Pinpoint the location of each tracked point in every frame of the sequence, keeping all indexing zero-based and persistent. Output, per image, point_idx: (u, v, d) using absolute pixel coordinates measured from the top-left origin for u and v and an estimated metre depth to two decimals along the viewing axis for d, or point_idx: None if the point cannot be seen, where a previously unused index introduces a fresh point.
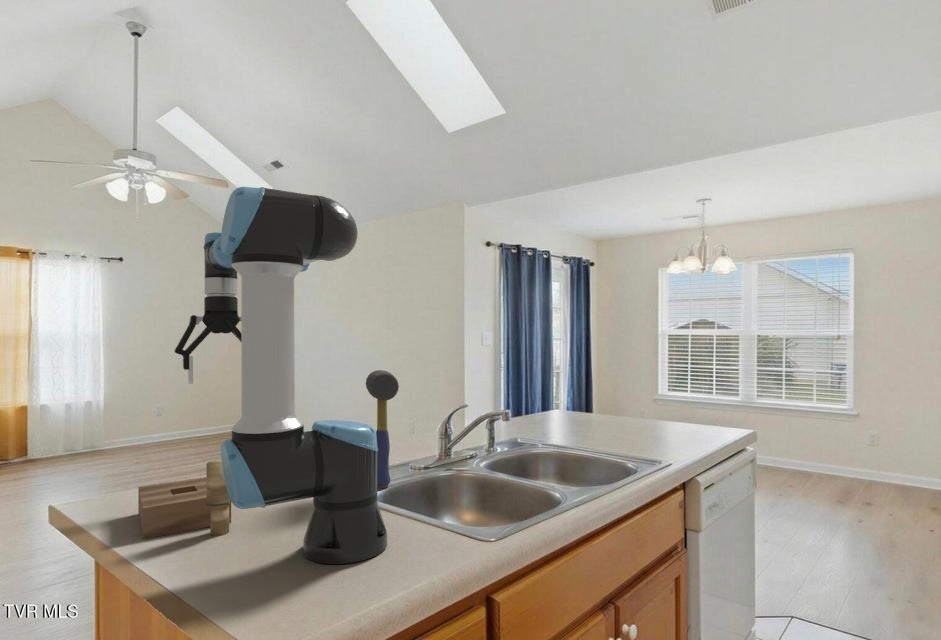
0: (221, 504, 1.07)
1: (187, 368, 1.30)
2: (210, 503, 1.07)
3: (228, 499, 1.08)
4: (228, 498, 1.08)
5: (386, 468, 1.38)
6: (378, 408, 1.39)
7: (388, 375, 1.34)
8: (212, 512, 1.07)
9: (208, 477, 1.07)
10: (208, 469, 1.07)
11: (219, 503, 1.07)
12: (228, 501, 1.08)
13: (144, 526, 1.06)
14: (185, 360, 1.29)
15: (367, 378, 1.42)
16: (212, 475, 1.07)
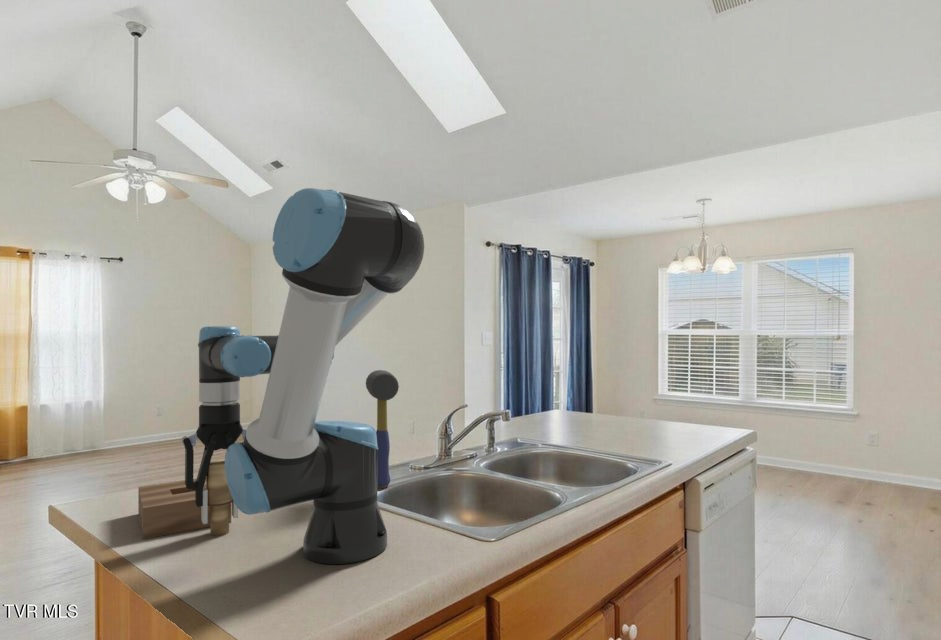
0: (221, 504, 1.07)
1: (200, 504, 1.06)
2: (210, 503, 1.07)
3: (228, 499, 1.08)
4: (228, 498, 1.08)
5: (386, 468, 1.38)
6: (378, 408, 1.39)
7: (388, 375, 1.34)
8: (212, 512, 1.07)
9: (208, 477, 1.07)
10: (208, 469, 1.07)
11: (219, 503, 1.07)
12: (228, 501, 1.08)
13: (144, 526, 1.06)
14: (198, 495, 1.06)
15: (367, 378, 1.42)
16: (212, 475, 1.07)
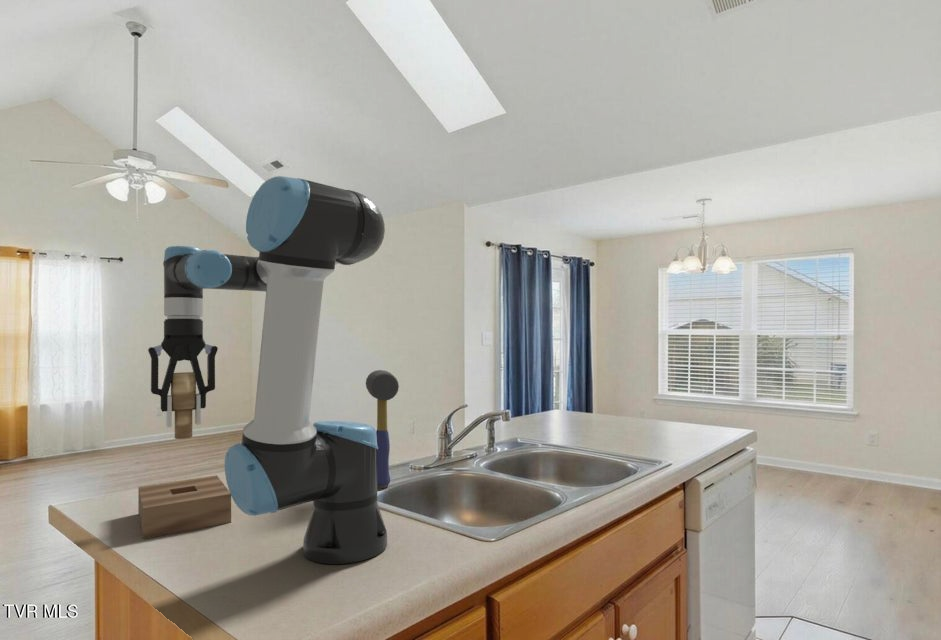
0: (184, 409, 1.16)
1: (165, 410, 1.15)
2: (174, 408, 1.16)
3: (191, 405, 1.17)
4: (191, 405, 1.17)
5: (386, 468, 1.38)
6: (378, 408, 1.39)
7: (388, 375, 1.34)
8: (176, 417, 1.17)
9: (172, 385, 1.16)
10: None
11: (182, 408, 1.16)
12: (191, 408, 1.17)
13: (144, 526, 1.06)
14: (163, 401, 1.15)
15: (367, 378, 1.42)
16: (175, 383, 1.16)
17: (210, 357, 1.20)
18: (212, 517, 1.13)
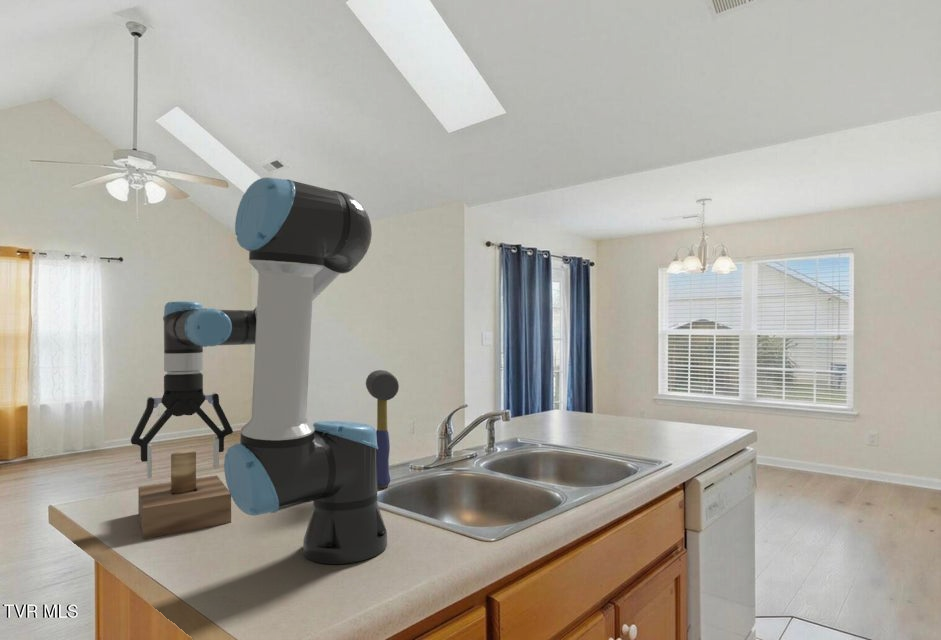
0: (184, 492, 1.16)
1: (145, 460, 1.13)
2: (174, 491, 1.15)
3: (191, 487, 1.17)
4: (191, 486, 1.17)
5: (386, 468, 1.38)
6: (378, 408, 1.39)
7: (388, 375, 1.34)
8: None
9: (172, 467, 1.16)
10: (172, 459, 1.16)
11: (182, 491, 1.15)
12: (191, 489, 1.17)
13: (144, 526, 1.06)
14: (142, 451, 1.13)
15: (367, 378, 1.42)
16: (175, 465, 1.15)
17: (215, 405, 1.20)
18: (212, 517, 1.13)
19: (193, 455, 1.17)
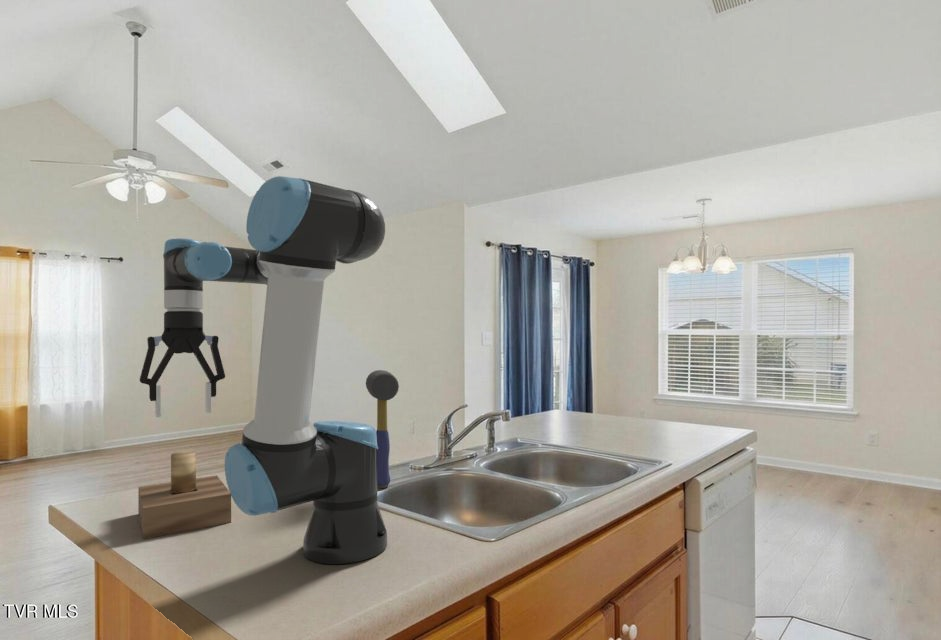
0: (184, 492, 1.16)
1: (154, 399, 1.14)
2: (174, 491, 1.15)
3: (191, 487, 1.17)
4: (191, 486, 1.17)
5: (386, 468, 1.38)
6: (378, 408, 1.39)
7: (388, 375, 1.34)
8: None
9: (172, 467, 1.16)
10: (172, 459, 1.16)
11: (182, 491, 1.15)
12: (191, 489, 1.17)
13: (144, 526, 1.06)
14: (151, 390, 1.14)
15: (367, 378, 1.42)
16: (175, 465, 1.15)
17: (213, 347, 1.20)
18: (212, 517, 1.13)
19: (193, 455, 1.17)
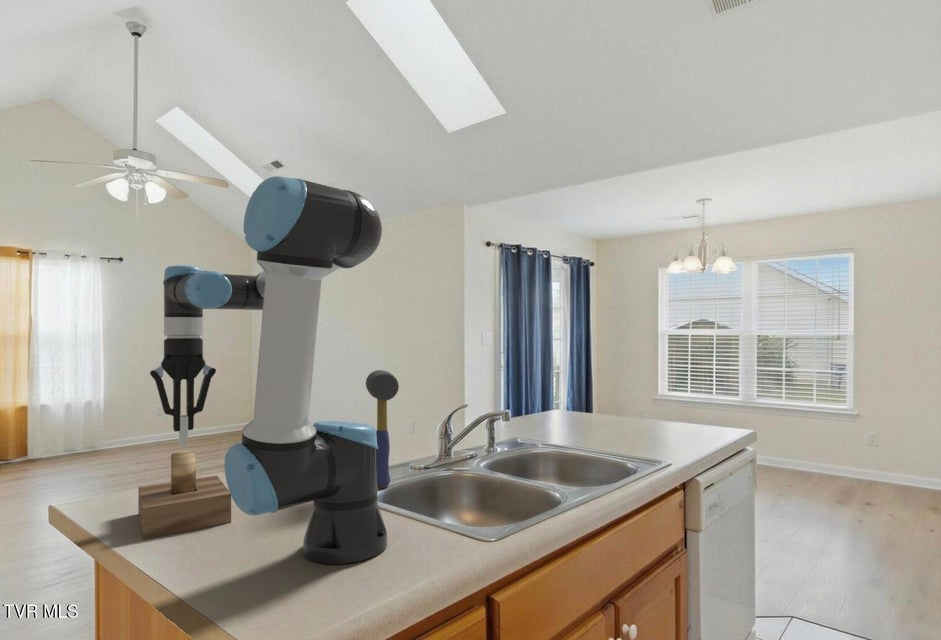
0: (184, 492, 1.16)
1: (178, 430, 1.17)
2: (174, 491, 1.15)
3: (191, 487, 1.17)
4: (191, 486, 1.17)
5: (386, 468, 1.38)
6: (378, 408, 1.39)
7: (388, 375, 1.34)
8: None
9: (172, 467, 1.16)
10: (172, 459, 1.16)
11: (182, 491, 1.15)
12: (191, 489, 1.17)
13: (144, 526, 1.06)
14: (175, 421, 1.17)
15: (367, 378, 1.42)
16: (175, 465, 1.15)
17: (206, 378, 1.20)
18: (212, 517, 1.13)
19: (193, 455, 1.17)
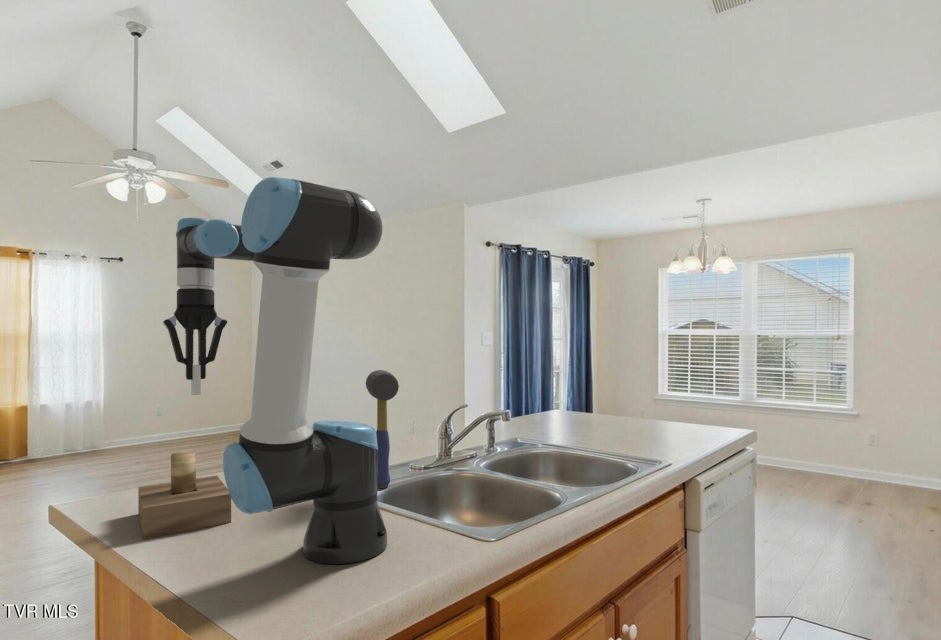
0: (184, 492, 1.16)
1: (190, 378, 1.20)
2: (174, 491, 1.15)
3: (191, 487, 1.17)
4: (191, 486, 1.17)
5: (386, 468, 1.38)
6: (378, 408, 1.39)
7: (388, 375, 1.34)
8: None
9: (172, 467, 1.16)
10: (172, 459, 1.16)
11: (182, 491, 1.15)
12: (191, 489, 1.17)
13: (144, 526, 1.06)
14: (188, 369, 1.19)
15: (367, 378, 1.42)
16: (175, 465, 1.15)
17: (218, 329, 1.23)
18: (212, 517, 1.13)
19: (193, 455, 1.17)
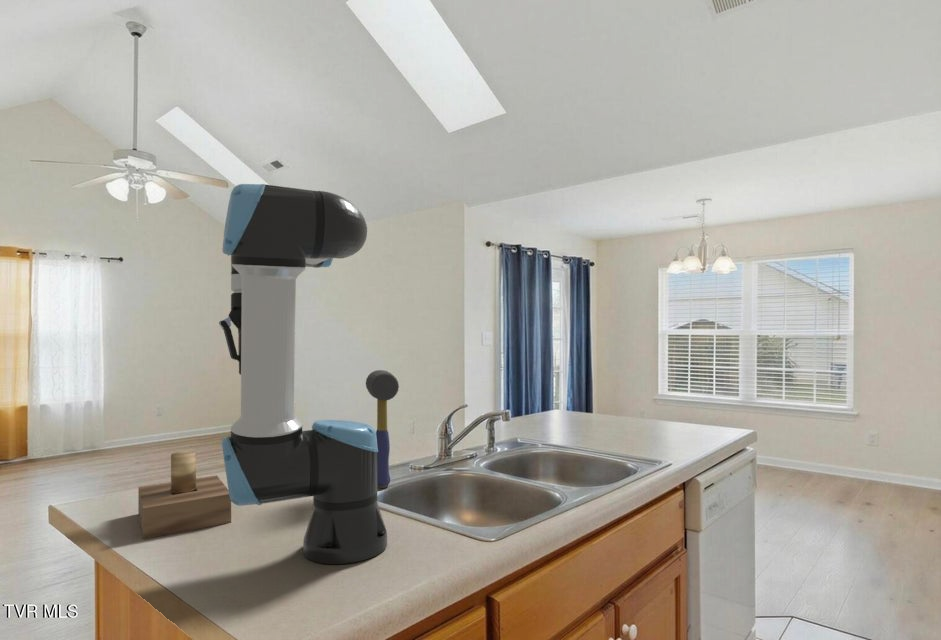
0: (184, 492, 1.16)
1: None
2: (174, 491, 1.15)
3: (191, 487, 1.17)
4: (191, 486, 1.17)
5: (386, 468, 1.38)
6: (378, 408, 1.39)
7: (388, 375, 1.34)
8: None
9: (172, 467, 1.16)
10: (172, 459, 1.16)
11: (182, 491, 1.15)
12: (191, 489, 1.17)
13: (144, 526, 1.06)
14: None
15: (367, 378, 1.42)
16: (175, 465, 1.15)
17: None
18: (212, 517, 1.13)
19: (193, 455, 1.17)
